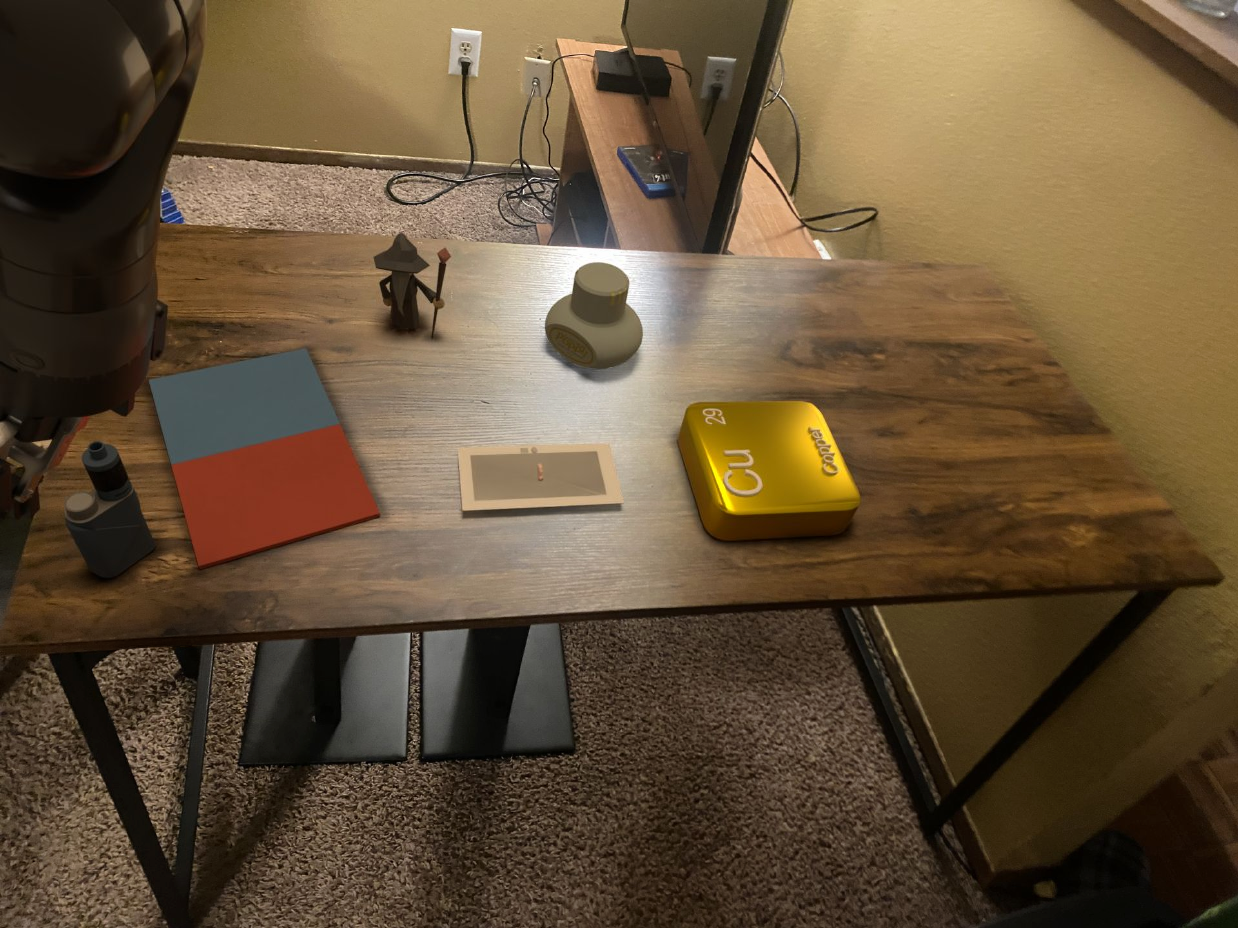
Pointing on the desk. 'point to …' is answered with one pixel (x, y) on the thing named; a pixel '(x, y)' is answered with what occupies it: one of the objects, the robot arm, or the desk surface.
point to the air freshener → (595, 319)
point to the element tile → (766, 470)
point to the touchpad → (537, 476)
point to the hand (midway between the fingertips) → (68, 454)
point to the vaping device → (107, 515)
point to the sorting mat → (258, 456)
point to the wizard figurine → (408, 283)
